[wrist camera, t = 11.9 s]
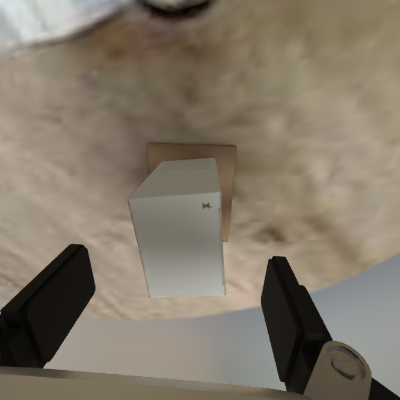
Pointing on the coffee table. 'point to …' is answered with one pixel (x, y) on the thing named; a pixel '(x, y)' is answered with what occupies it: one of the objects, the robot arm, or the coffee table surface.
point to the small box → (180, 229)
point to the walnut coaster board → (221, 153)
